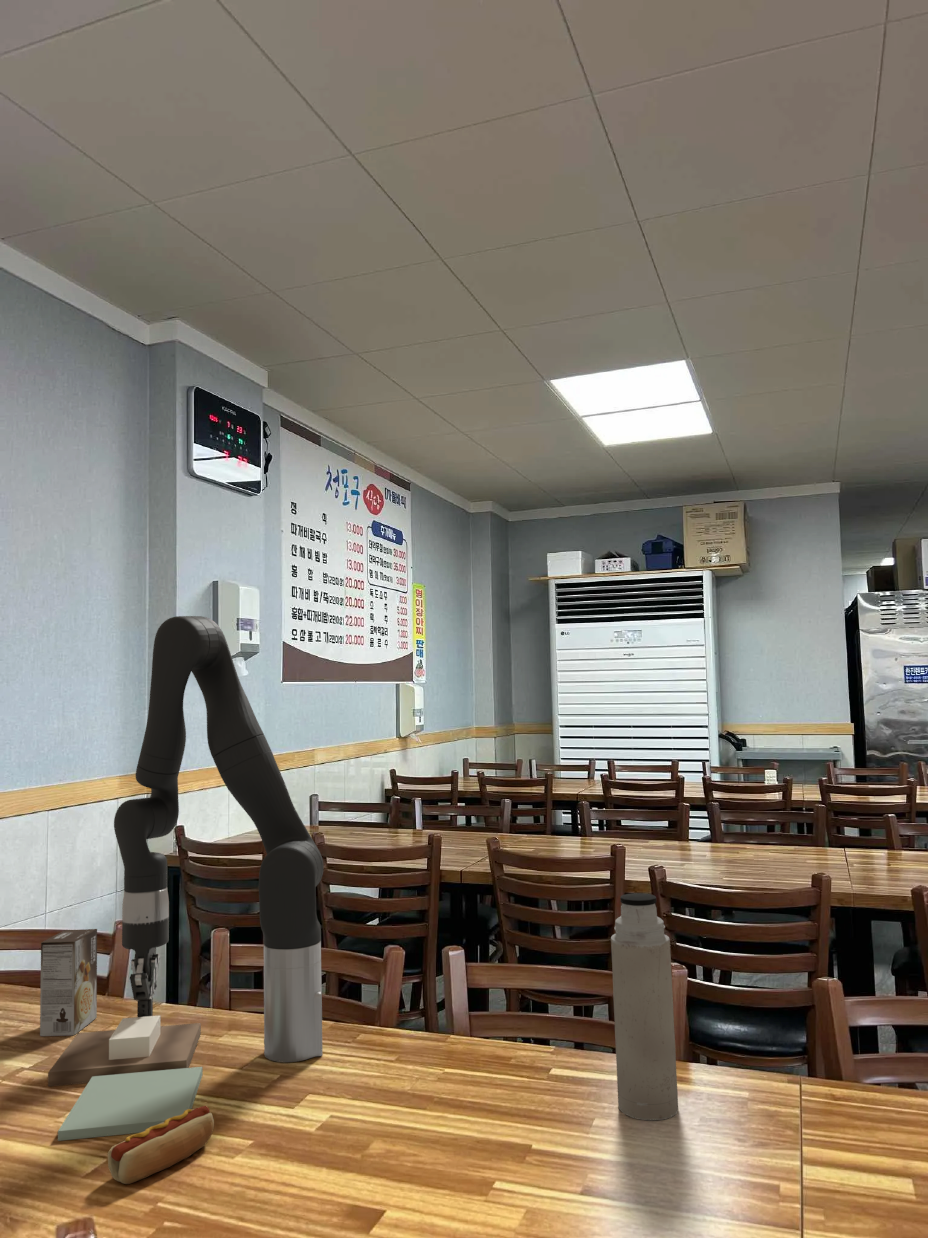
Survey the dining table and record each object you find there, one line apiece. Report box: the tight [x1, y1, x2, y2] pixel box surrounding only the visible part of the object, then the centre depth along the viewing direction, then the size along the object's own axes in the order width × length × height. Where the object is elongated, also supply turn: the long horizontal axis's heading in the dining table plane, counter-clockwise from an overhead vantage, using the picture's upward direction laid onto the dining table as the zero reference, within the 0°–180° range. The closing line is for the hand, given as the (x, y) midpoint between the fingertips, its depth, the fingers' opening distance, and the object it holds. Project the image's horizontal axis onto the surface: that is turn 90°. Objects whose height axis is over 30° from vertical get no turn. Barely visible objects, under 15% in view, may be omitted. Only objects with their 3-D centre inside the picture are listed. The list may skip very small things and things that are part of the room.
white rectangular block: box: [109, 1015, 161, 1060], centre depth 144 cm, size 6×10×3 cm, turn 9°
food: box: [107, 1105, 215, 1185], centre depth 110 cm, size 14×6×5 cm, turn 145°
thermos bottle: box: [610, 892, 679, 1121], centre depth 123 cm, size 8×8×28 cm
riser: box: [47, 1022, 202, 1087], centre depth 144 cm, size 20×17×2 cm
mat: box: [57, 1066, 203, 1142], centre depth 127 cm, size 16×18×1 cm
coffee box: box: [39, 928, 98, 1037], centre depth 161 cm, size 9×6×16 cm
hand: (145, 1022), depth 151 cm, fingers closed
